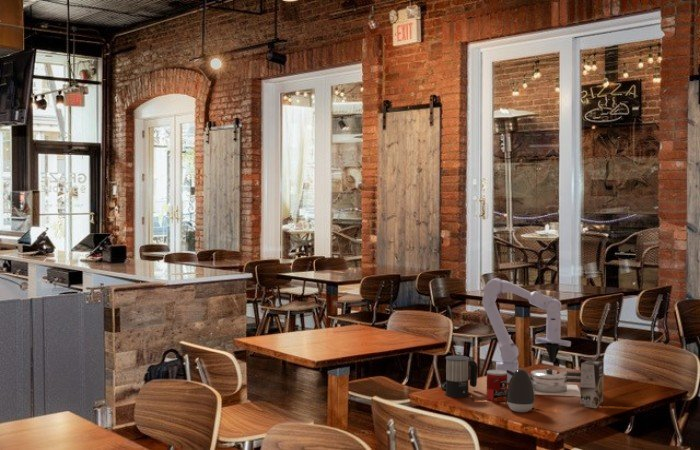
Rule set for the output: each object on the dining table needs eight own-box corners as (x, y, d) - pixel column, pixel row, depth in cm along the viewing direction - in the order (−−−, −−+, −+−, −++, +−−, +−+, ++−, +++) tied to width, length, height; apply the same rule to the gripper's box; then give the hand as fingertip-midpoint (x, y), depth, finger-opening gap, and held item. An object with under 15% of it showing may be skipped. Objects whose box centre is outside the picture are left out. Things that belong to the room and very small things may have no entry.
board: (530, 396, 321) (530, 393, 321) (526, 385, 341) (527, 382, 341) (583, 399, 318) (583, 396, 318) (576, 387, 338) (576, 385, 338)
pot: (524, 391, 324) (525, 378, 324) (522, 384, 338) (523, 370, 338) (590, 395, 321) (590, 380, 320) (585, 387, 334) (585, 373, 334)
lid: (531, 378, 324) (531, 372, 324) (530, 370, 338) (530, 364, 338) (590, 381, 320) (590, 375, 320) (587, 373, 334) (587, 367, 334)
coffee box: (596, 408, 303) (597, 365, 303) (579, 406, 307) (580, 363, 306) (603, 403, 311) (604, 361, 311) (586, 401, 315) (587, 359, 314)
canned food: (494, 403, 309) (495, 374, 309) (482, 399, 316) (482, 370, 316) (511, 401, 312) (511, 372, 312) (498, 397, 320) (498, 368, 319)
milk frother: (459, 399, 315) (460, 360, 315) (426, 392, 326) (427, 354, 326) (480, 393, 326) (481, 355, 325) (448, 386, 337) (448, 350, 336)
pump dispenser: (508, 405, 306) (509, 365, 305) (536, 408, 302) (537, 367, 301) (502, 412, 296) (503, 370, 296) (531, 415, 293) (532, 372, 292)
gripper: (532, 327, 339) (531, 360, 340) (565, 331, 330) (565, 365, 330) (540, 325, 345) (539, 358, 345) (573, 329, 336) (572, 363, 336)
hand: (552, 361), depth 338 cm, fingers closed
